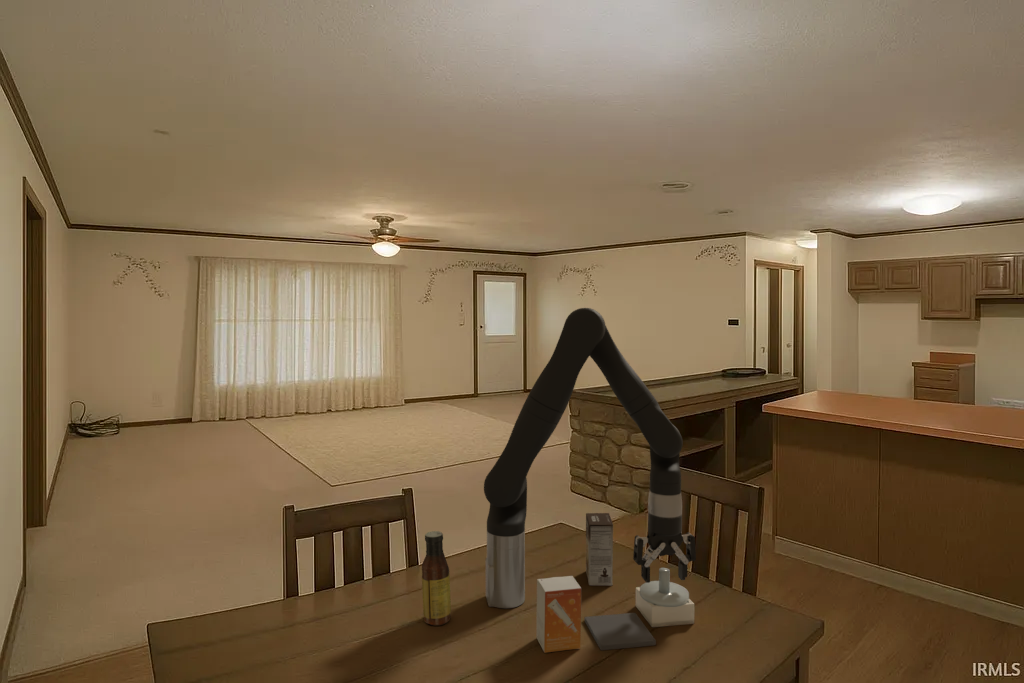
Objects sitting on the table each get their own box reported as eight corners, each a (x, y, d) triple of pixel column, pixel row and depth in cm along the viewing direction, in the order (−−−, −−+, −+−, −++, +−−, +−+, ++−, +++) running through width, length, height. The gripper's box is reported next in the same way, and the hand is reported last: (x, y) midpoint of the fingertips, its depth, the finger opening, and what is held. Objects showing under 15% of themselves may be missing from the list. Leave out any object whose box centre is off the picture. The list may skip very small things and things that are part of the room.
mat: (600, 650, 124) (600, 645, 124) (584, 621, 136) (584, 616, 136) (655, 645, 126) (655, 640, 126) (635, 616, 138) (635, 612, 138)
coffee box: (585, 570, 163) (585, 512, 162) (608, 570, 163) (609, 512, 162) (588, 586, 154) (588, 524, 153) (613, 586, 154) (614, 524, 153)
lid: (650, 608, 133) (651, 582, 132) (632, 586, 144) (632, 561, 143) (697, 604, 134) (697, 578, 134) (676, 583, 145) (676, 558, 145)
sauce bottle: (456, 616, 138) (455, 531, 137) (441, 629, 133) (441, 540, 132) (431, 610, 141) (431, 527, 140) (416, 623, 135) (416, 536, 134)
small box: (544, 654, 123) (544, 591, 122) (535, 637, 129) (536, 578, 129) (581, 649, 125) (582, 587, 124) (571, 633, 131) (572, 574, 130)
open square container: (651, 627, 134) (652, 607, 133) (635, 605, 143) (635, 587, 143) (694, 623, 135) (694, 603, 135) (675, 602, 145) (675, 584, 145)
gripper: (641, 517, 133) (641, 589, 134) (701, 514, 136) (700, 585, 136) (629, 507, 141) (629, 575, 141) (686, 504, 143) (686, 571, 144)
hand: (664, 580), depth 139 cm, fingers open, 8 cm apart
